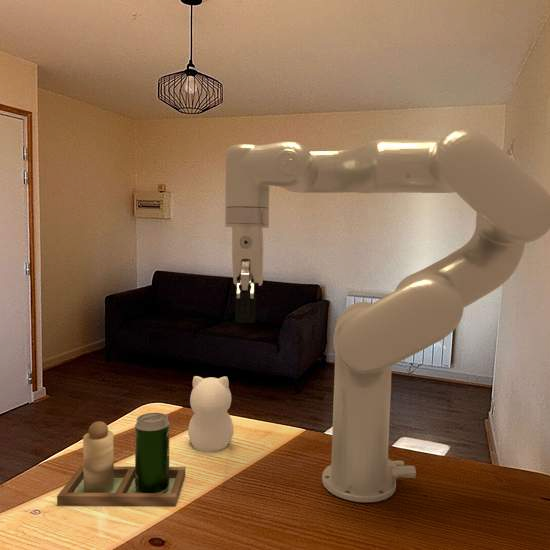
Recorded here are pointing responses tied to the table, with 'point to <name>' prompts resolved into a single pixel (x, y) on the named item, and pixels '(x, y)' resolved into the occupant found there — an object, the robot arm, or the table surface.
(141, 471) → the guarana soda can
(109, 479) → the pepper mill
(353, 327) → the robot arm
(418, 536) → the table surface
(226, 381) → the cat figurine
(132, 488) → the caddy
